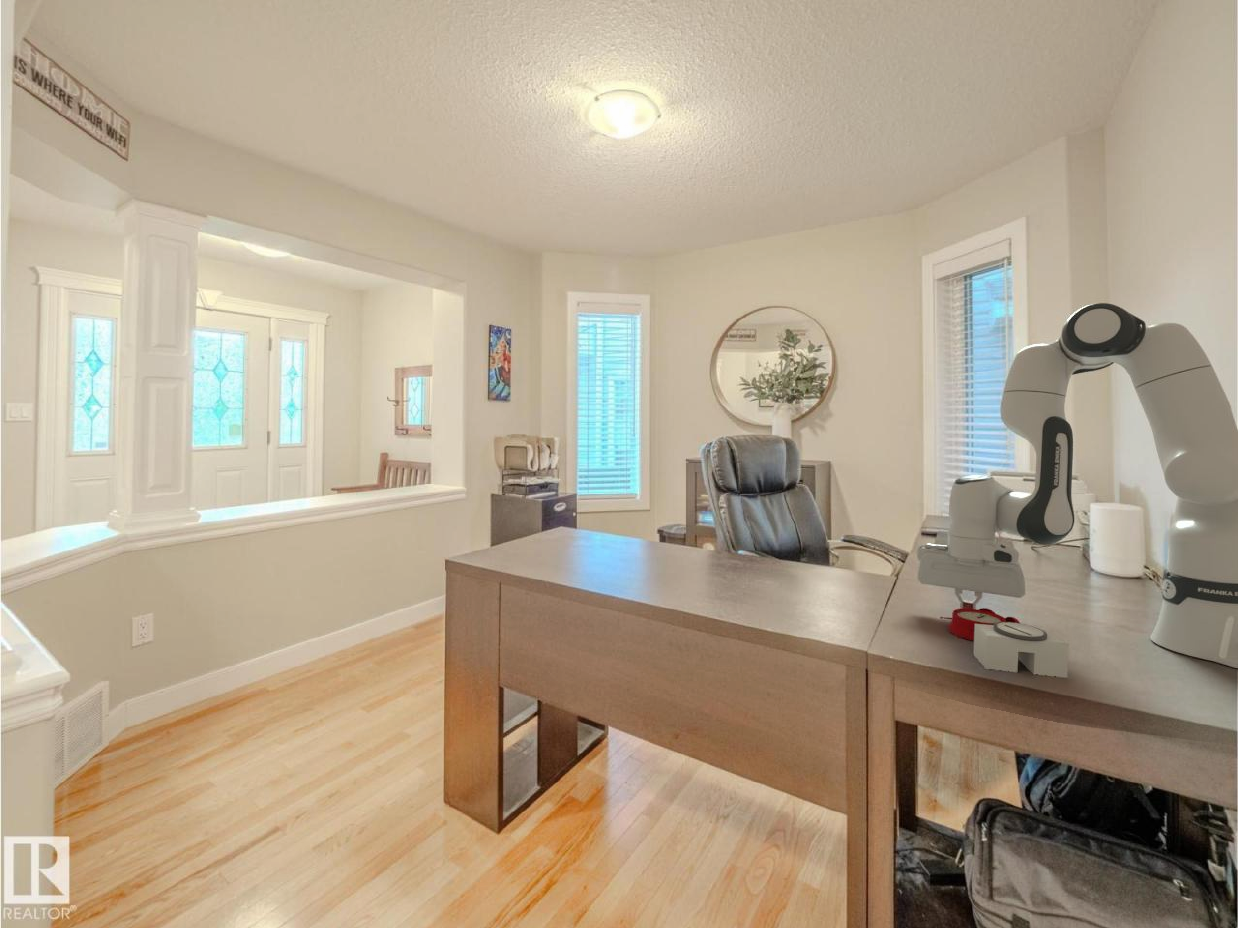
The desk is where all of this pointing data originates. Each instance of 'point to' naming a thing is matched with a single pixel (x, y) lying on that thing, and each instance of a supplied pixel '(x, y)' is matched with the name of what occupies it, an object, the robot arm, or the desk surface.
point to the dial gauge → (1021, 648)
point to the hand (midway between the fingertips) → (967, 609)
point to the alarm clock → (973, 621)
